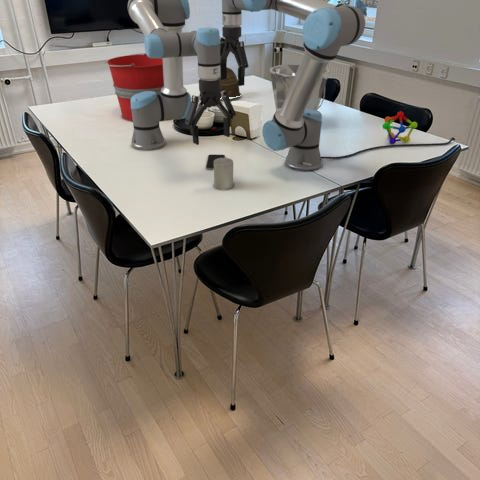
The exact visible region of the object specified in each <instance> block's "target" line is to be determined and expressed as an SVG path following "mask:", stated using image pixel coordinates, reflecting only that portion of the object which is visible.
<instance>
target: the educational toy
mask: <svg viewBox="0 0 480 480" xmlns="http://www.w3.org/2000/svg"><path fill="white" fill-rule="evenodd" d="M397 119H399V124H400V125H399V127H398V126H393V125H391V124H392V123H394V122H395V121H396V120H397ZM403 120H404V121H405V122H407V123H408V124H409V125H407V126H404V123H403ZM417 127H418V122H417V121H411V120H410V119H409V118H408V117H406V116H405V113H404V112H403V111H401V110H400V111H398V112H397V114H396V115H394V116H391V117H390V116H386V117H385V118H384V122H383V123H382V129H383V130H386V132H387V138H388V142H389V145H396V143H397V142H402V141H403V142H404V143H409V142H410V140H411V138H410V136H411V134H412V132H413V131H414V130H415V129H417ZM392 129H393V130H397V131H398V132H396V134H395V133H394V132H392ZM408 129H409V131H408V133H407V134H406V135H404V136H401V134H403V133H405V132H406V130H408ZM399 135H400V136H399Z"/></svg>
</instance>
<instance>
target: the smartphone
mask: <svg viewBox="0 0 480 480" xmlns="http://www.w3.org/2000/svg"><path fill="white" fill-rule="evenodd" d="M218 158H226V155H225V154H208V156H207V161H206V164H205V165H206V166H205V169H207V170H214V160H215V159H218Z"/></svg>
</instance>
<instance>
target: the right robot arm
mask: <svg viewBox="0 0 480 480" xmlns="http://www.w3.org/2000/svg"><path fill="white" fill-rule="evenodd" d="M265 10H266V11H268V10H274V11H275V12H279V13H282V14H285V15H287V16H291V17H293V18H295V19H299V20H301V21H303V25H302V30H301V33H302V41H303V44H302V46H303V47H302V48H303V49H304V53H303V55H302V57H301V60H300V63H299V64H300V65H299V67H298V69H297V72H296V74H295V77H294V79H293V81H292V84H291V86H290V89H289V91H288V93H287V96H286V98H285V101H284V103H283V105H282V108H279V109H277V110H276V109H275V112H274V114H273V116H272V119H270V120H268V121H266V122H265V123H264V124H263V126H262V129H261V133H262V137H263V141H264V143H265V145H266V146H267V147H268V148H269V149H271V150H272V151H277V152H278V151H284V150H286V149H289V150H288V152H287V155H286V157H285V163H284V164H285V166H286V167H287V168H288V169H291V170H293V171H294V170H295V171H300V172H311V171H316V170H319V169H320V168H321V167H322V165H323V160H338V159H347V158H350V157H353V156H356V155H359V154H361V153H363V152H368V151H372V150H377V149H378V150H379V149H384V148H397V147H426V146H427V147H428V146H446V145H449V144H451V143H452V141H456V138H455V137H451V138H450V139H449V140H448V141H447V142H436V143H404V144H403V143H402V144H388V145H387V144H386V145H379V146H372V147H368V148H364V149H361V150H358V151H356V152H355V151H354V152H353V153H350V154H346V155H340V156H321V151H320V141H321V133H322V123H323V114H322V113H321V111H319V110H313V109H308V108H307V106H308V104H309V102H310V100H311V98H312V96H313V94H314V92H315V89H316V87H317V85H318V83H319V81H320V79H321V77H322V75H323V72H324V70H325V68H326V69H327V67H328V64H329V62H331V61H334V60H335V59H336V58H337V56H338V54H339V52H340V50H341V48H342V47H345V46H350V45H352V44H354V43H356V42H357V41H358V40H360V38H361V37H362V36H363V34H364V31H365V28H366V18H365V15H364V12H362V10H361V9H360V8H358V7H356V6H353V5H348V4H345V3H337V4H333V3H331V2H330V3H329V2H326V1H323V0H221V15H222V17H221V20H222V21H221V22H222V23H221V24H222V29H221V31H222V34H221V35H222V37H220V70H221V77H220V79H221V80H223V79H227V68H228V64H227V63H228V62H227V63H224V62H226V59H227V60H228V57H229V55H230V53H231V54H232V55H233V56H234V59H235V61H236V64H237V79H238V86H239V87H242V86H245V77H246V72H245V71H246V69H247V68H248V69H249V62H248V58H247V53H246V49H245V41H244V40H241V41H240V38H242V27H241V26H242V23H243V22H242V20H243V19H242V14H243V13H242V12H243V11H246V12H251V13H254V12H256V13H258V12H261V11H265Z"/></svg>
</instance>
